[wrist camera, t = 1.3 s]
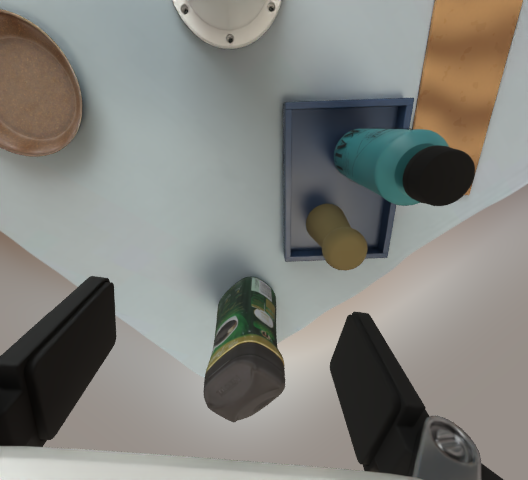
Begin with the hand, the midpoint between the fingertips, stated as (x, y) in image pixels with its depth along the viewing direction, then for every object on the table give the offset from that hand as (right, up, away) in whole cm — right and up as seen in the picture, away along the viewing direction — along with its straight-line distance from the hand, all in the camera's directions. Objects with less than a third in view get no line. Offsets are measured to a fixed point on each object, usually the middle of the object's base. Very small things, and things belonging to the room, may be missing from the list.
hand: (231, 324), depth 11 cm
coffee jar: (-1, -7, +35) cm, 36 cm away
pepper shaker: (+11, +6, +30) cm, 32 cm away
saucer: (-27, +22, +22) cm, 42 cm away
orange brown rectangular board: (+26, +21, +24) cm, 41 cm away
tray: (+12, +11, +28) cm, 32 cm away
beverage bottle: (+13, +15, +26) cm, 33 cm away
